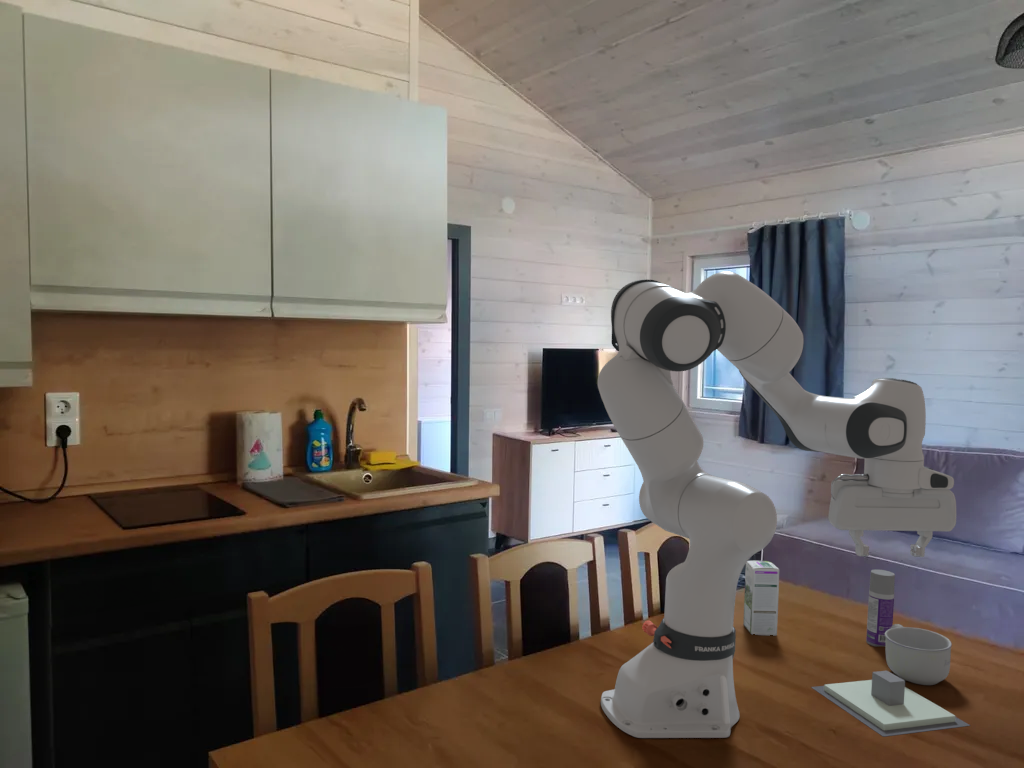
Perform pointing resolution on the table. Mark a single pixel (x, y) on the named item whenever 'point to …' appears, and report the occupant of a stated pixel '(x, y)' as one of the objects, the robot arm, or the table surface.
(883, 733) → the mat
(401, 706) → the table surface
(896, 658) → the teacup
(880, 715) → the lid
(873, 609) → the container
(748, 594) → the syrup box
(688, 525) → the robot arm
